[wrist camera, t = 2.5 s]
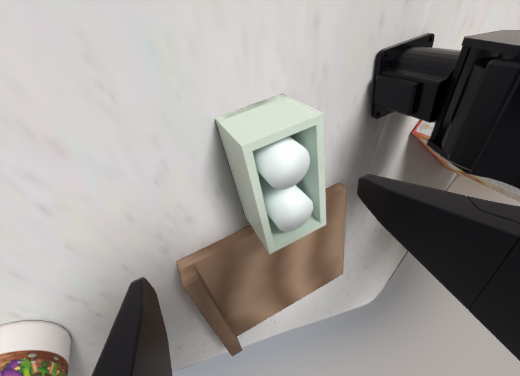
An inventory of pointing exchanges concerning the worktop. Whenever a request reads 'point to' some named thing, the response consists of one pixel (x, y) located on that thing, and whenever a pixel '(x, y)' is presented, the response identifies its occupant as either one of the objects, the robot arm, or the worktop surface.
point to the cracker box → (423, 135)
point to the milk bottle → (34, 349)
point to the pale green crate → (277, 167)
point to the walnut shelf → (263, 273)
